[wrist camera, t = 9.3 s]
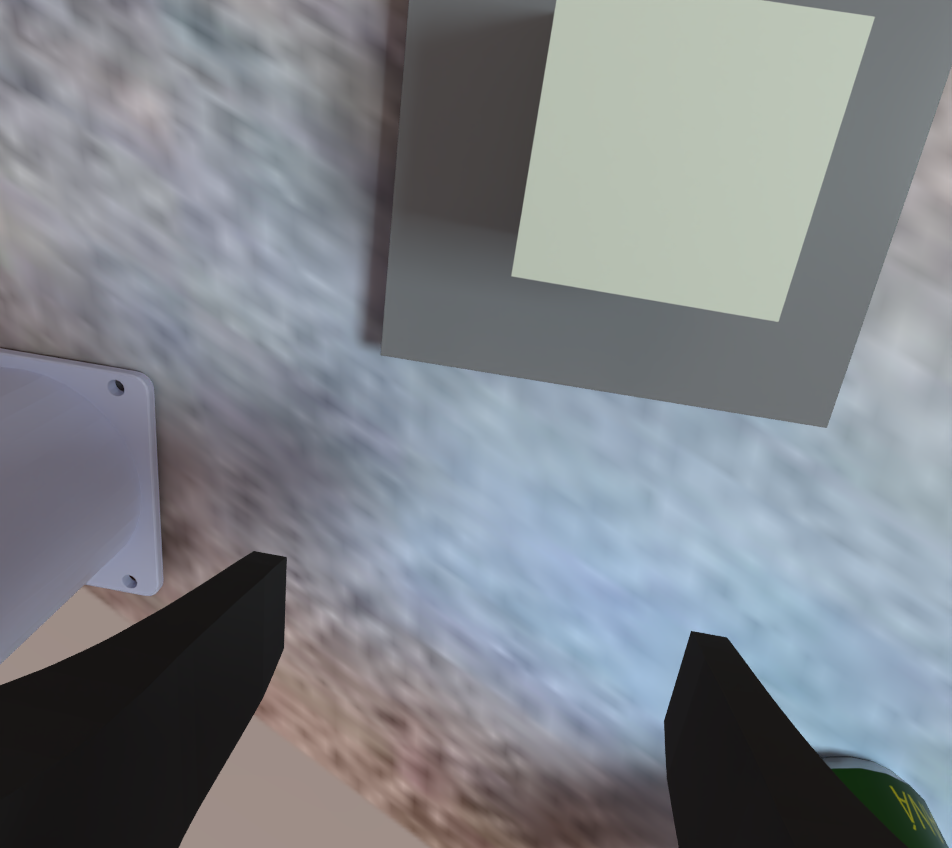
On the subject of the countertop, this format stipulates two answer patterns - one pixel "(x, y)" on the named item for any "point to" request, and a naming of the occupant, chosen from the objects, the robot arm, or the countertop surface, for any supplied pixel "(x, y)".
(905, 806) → the beer can
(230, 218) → the countertop surface
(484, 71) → the slate tile
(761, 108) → the cube
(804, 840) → the robot arm
